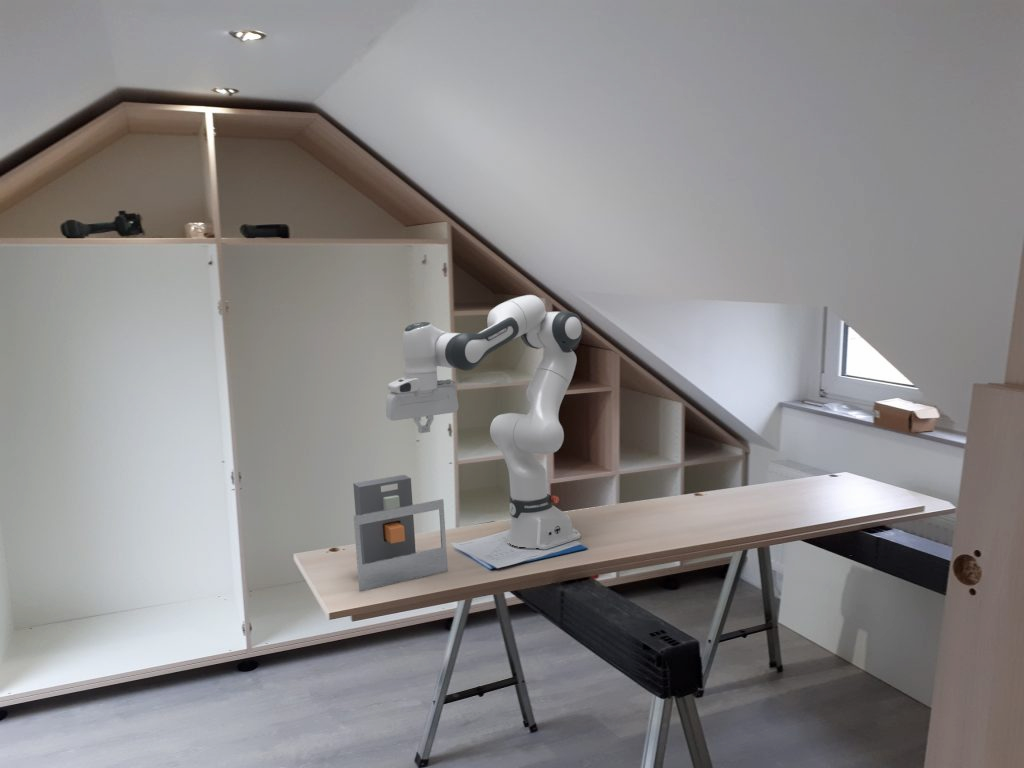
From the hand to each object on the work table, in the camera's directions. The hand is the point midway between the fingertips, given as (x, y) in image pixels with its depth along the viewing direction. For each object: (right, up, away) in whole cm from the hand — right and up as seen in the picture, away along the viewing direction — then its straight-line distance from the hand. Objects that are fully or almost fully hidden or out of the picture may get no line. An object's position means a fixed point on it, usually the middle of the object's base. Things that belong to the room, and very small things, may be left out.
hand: (424, 432), depth 232 cm
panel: (-11, -39, +6) cm, 41 cm away
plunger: (-9, -30, +2) cm, 31 cm away
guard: (-7, -40, +1) cm, 40 cm away
